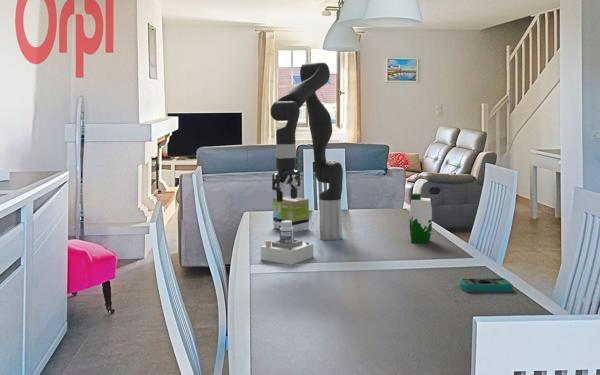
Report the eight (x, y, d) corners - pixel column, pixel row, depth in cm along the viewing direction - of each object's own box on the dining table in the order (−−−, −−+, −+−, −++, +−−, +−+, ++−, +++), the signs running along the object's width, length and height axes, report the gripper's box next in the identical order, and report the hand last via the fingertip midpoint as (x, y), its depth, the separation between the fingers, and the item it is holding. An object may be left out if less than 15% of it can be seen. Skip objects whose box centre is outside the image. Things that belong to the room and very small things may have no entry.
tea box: (272, 228, 277) (271, 197, 275) (288, 225, 283) (287, 195, 282) (293, 233, 266) (293, 200, 264) (309, 229, 272) (309, 198, 271)
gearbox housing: (283, 252, 229) (283, 234, 228) (313, 256, 221) (313, 238, 220) (261, 259, 217) (260, 241, 216) (291, 264, 209) (291, 245, 208)
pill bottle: (285, 242, 222) (285, 219, 221) (296, 244, 219) (296, 220, 218) (277, 245, 217) (276, 221, 216) (288, 246, 215) (288, 223, 213)
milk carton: (409, 239, 250) (410, 192, 247) (431, 239, 248) (432, 192, 245) (409, 243, 241) (409, 195, 239) (431, 244, 239) (432, 195, 237)
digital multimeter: (457, 286, 182) (457, 277, 182) (505, 286, 182) (505, 276, 182) (464, 293, 175) (464, 284, 175) (513, 293, 175) (514, 283, 175)
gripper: (289, 154, 222) (290, 196, 224) (265, 157, 211) (266, 201, 213) (305, 155, 218) (306, 198, 220) (282, 158, 206) (283, 203, 208)
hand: (286, 200), depth 216 cm, fingers open, 8 cm apart
